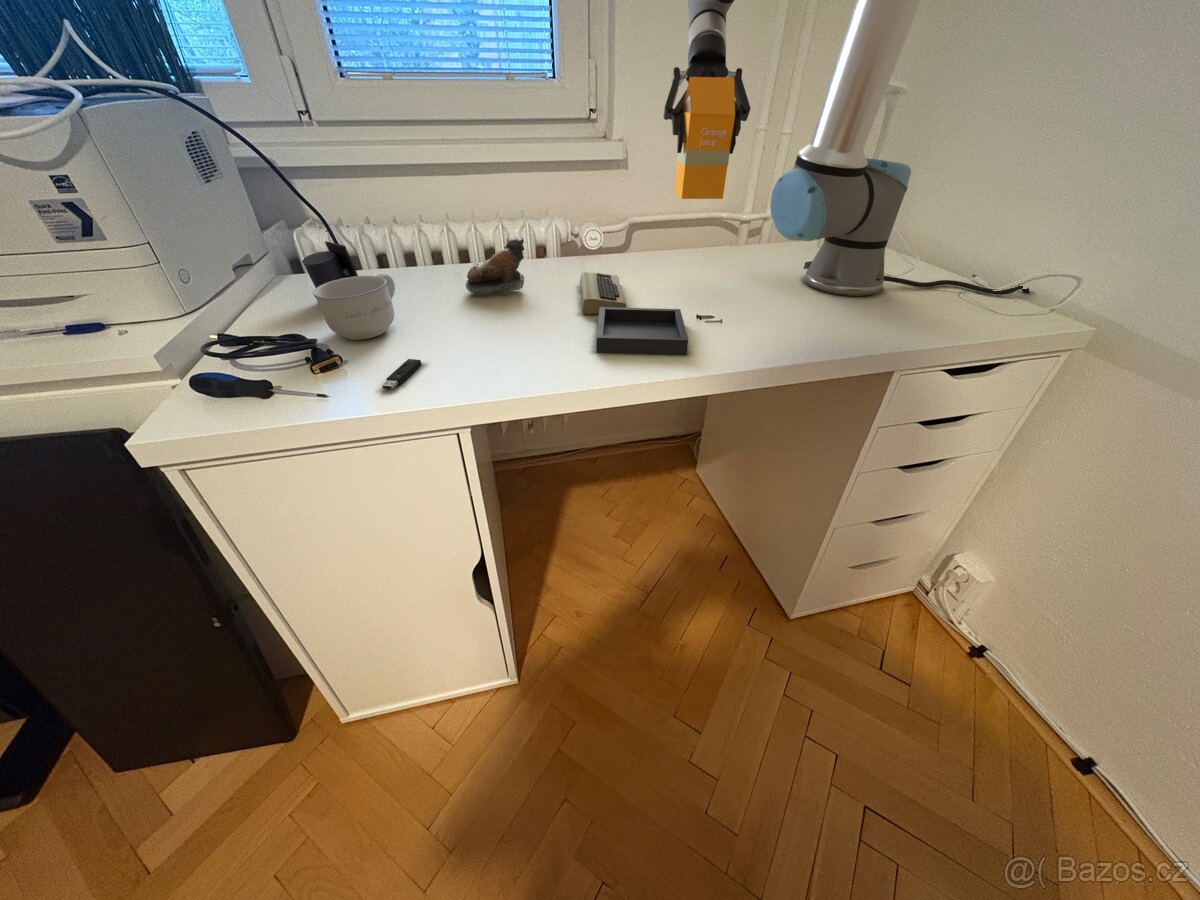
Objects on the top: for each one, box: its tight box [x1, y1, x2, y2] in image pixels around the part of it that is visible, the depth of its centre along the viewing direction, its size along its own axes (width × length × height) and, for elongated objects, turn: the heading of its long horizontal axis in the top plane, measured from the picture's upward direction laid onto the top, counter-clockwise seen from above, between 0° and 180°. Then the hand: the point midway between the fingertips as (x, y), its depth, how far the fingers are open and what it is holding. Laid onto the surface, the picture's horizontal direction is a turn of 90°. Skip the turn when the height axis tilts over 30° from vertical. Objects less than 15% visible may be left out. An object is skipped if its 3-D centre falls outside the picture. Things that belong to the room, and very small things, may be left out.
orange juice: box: [674, 77, 736, 200], centre depth 96 cm, size 8×9×20 cm
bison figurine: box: [465, 236, 525, 295], centre depth 93 cm, size 12×7×10 cm, turn 103°
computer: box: [579, 271, 627, 315], centre depth 93 cm, size 16×8×3 cm, turn 3°
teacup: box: [312, 273, 396, 341], centre depth 78 cm, size 14×11×8 cm
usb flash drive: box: [381, 358, 422, 390], centre depth 67 cm, size 8×2×1 cm, turn 170°
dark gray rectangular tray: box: [595, 307, 689, 356], centre depth 79 cm, size 14×13×2 cm
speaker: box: [301, 240, 359, 289], centre depth 88 cm, size 8×6×10 cm
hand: (706, 148), depth 95 cm, fingers closed on orange juice, 9 cm apart
